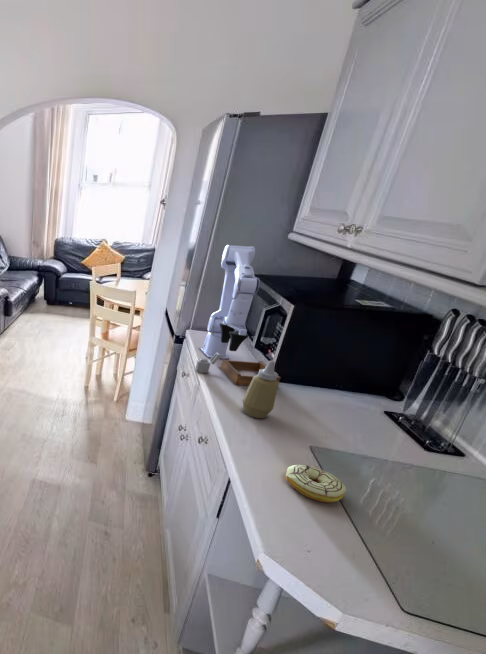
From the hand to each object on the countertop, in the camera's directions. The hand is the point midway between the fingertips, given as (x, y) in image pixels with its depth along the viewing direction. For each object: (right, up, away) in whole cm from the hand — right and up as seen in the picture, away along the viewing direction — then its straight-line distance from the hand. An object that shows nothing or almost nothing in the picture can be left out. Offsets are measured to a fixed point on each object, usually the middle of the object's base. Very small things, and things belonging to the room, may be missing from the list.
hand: (228, 346), depth 144 cm
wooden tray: (+7, -11, 0) cm, 13 cm away
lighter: (-6, -10, +4) cm, 12 cm away
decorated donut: (-13, -34, -52) cm, 63 cm away
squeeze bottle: (-6, -21, -22) cm, 31 cm away
